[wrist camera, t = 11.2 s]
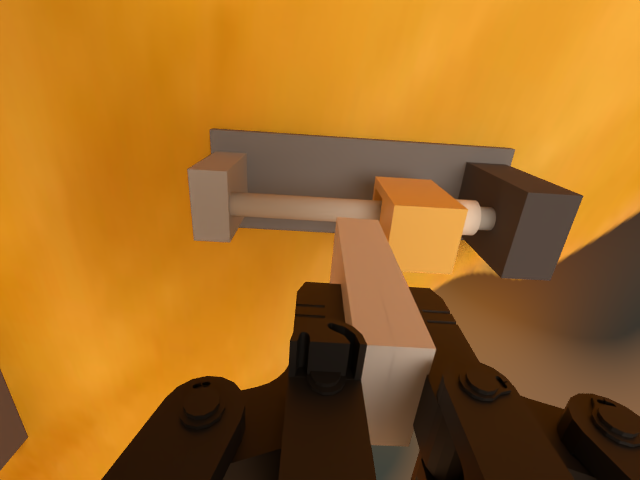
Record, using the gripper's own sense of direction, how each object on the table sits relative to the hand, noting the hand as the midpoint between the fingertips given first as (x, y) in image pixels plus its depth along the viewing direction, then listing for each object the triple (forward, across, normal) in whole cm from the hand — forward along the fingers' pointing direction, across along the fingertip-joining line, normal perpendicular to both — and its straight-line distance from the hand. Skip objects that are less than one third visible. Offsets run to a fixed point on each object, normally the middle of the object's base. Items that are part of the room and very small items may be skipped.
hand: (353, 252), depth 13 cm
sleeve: (+19, +6, -4) cm, 20 cm away
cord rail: (+24, +3, -4) cm, 25 cm away
